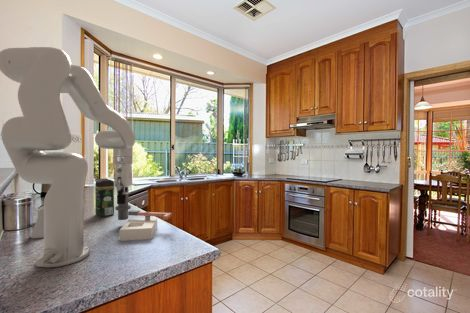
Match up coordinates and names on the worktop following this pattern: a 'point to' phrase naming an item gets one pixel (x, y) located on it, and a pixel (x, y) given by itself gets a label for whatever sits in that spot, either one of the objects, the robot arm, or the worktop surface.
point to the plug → (123, 209)
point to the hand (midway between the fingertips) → (123, 202)
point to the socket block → (138, 229)
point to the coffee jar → (104, 197)
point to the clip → (149, 214)
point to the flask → (38, 226)
